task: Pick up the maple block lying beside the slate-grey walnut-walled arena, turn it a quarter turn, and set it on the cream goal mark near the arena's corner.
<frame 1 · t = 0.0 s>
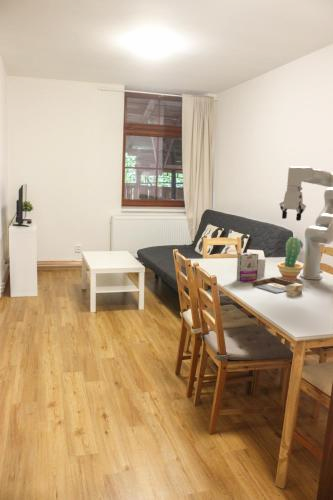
hand: (291, 219, 247), 37 cm above the table, tool pointing down, fingers open, 9 cm apart
corner arena: (274, 287, 241), on the table
candy bar box: (246, 281, 254), on the table
stack of papers: (254, 270, 282), on the table
potted cactus: (289, 278, 265), on the table
maple block: (294, 294, 230), on the table
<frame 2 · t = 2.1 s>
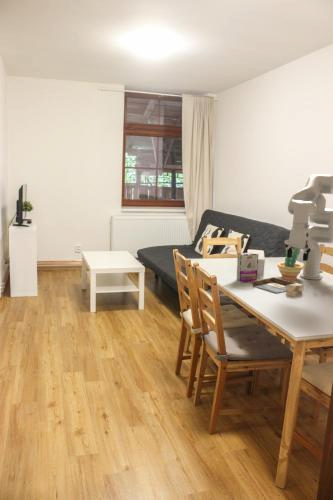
hand: (297, 258, 226), 19 cm above the table, tool pointing down, fingers open, 9 cm apart
nothing on the table moved.
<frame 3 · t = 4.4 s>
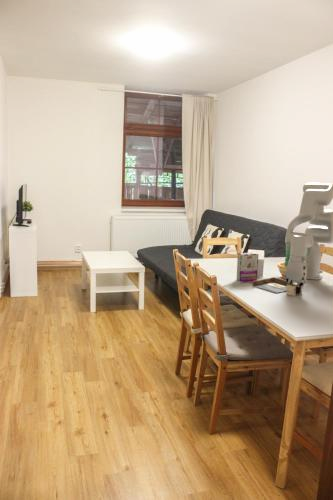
hand: (294, 292, 229), 1 cm above the table, tool pointing down, fingers closed on maple block, 4 cm apart
maple block: (293, 293, 230), on the table, touching gripper
everything else where it was.
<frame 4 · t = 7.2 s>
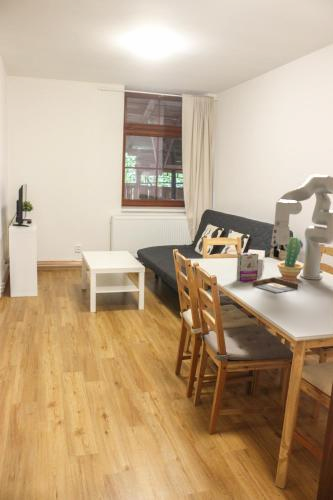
hand: (278, 256, 241), 17 cm above the table, tool pointing down, fingers closed on maple block, 4 cm apart
maple block: (277, 258, 242), point 16 cm above the table, tilted 5°, touching gripper
everything else where it was.
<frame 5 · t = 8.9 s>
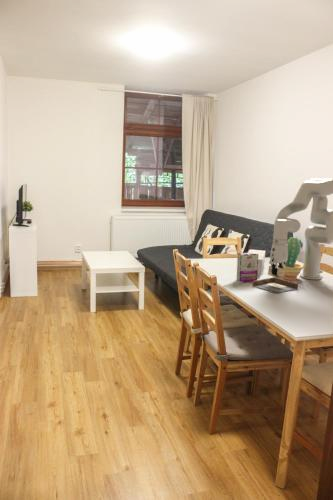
hand: (277, 273, 242), 7 cm above the table, tool pointing down, fingers closed on maple block, 4 cm apart
maple block: (275, 276, 243), point 6 cm above the table, tilted 5°, touching gripper
everything else where it was.
when the fingers open (3 cm above the table, at t = 10.0 s): maple block drops 1 cm, resting on corner arena.
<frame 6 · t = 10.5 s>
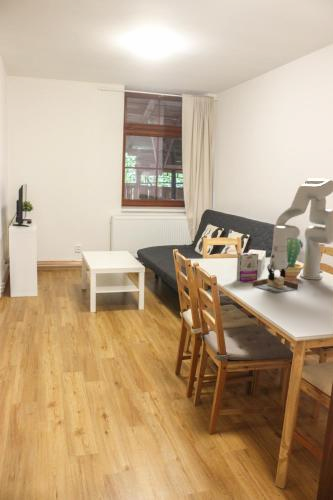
hand: (276, 278, 243), 4 cm above the table, tool pointing down, fingers open, 9 cm apart
maple block: (275, 284, 244), point 1 cm above the table, touching corner arena
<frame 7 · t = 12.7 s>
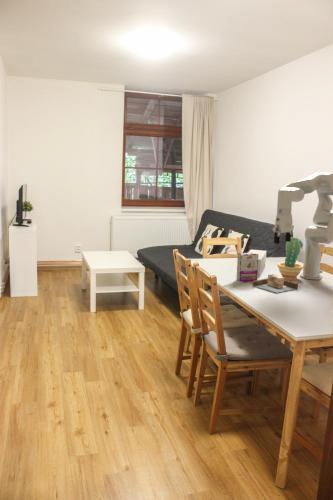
hand: (282, 242, 242), 25 cm above the table, tool pointing down, fingers open, 9 cm apart
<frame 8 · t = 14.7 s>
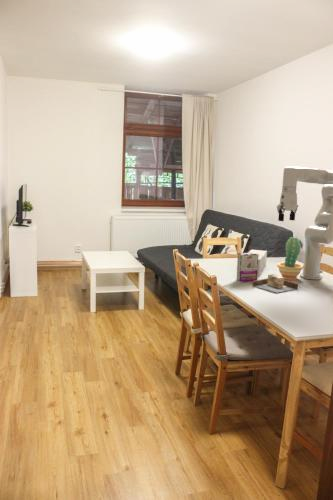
hand: (286, 220, 244), 36 cm above the table, tool pointing down, fingers open, 9 cm apart
at the end: maple block 0.8 cm from the target spot on the corner arena, point 0.6 cm above the corner arena's base; maple block tilted 0°; the gripper is holding nothing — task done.
